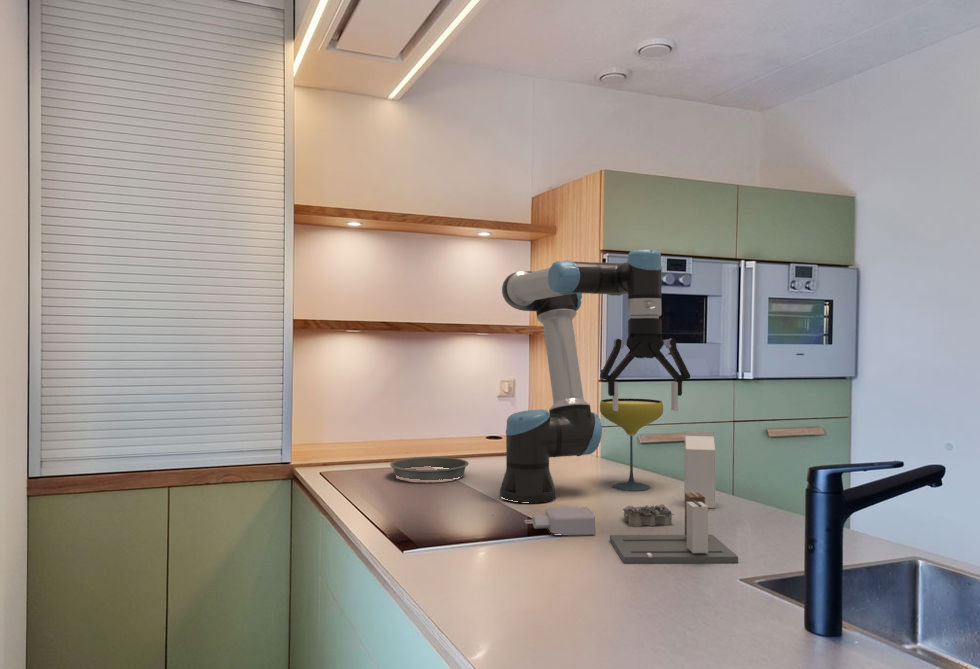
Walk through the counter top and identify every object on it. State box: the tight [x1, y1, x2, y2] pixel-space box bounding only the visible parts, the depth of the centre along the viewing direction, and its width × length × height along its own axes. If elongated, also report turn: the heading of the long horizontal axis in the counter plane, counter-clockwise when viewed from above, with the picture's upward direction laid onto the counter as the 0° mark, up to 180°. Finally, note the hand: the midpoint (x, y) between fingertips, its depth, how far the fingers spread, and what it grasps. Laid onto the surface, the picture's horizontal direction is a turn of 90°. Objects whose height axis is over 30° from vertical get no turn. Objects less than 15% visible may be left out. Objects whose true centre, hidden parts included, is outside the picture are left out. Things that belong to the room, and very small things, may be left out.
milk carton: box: [683, 430, 716, 509], centre depth 180 cm, size 7×7×19 cm
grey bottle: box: [523, 506, 596, 536], centre depth 156 cm, size 5×9×15 cm
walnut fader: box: [684, 492, 705, 537], centre depth 145 cm, size 3×4×9 cm
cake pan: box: [389, 456, 469, 480], centre depth 219 cm, size 25×25×4 cm
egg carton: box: [622, 503, 675, 527], centre depth 164 cm, size 11×8×4 cm
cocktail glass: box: [599, 398, 664, 492], centre depth 202 cm, size 18×18×25 cm
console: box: [609, 534, 739, 564], centre depth 141 cm, size 22×15×2 cm
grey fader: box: [686, 500, 709, 553], centre depth 137 cm, size 3×4×9 cm
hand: (644, 410), depth 159 cm, fingers open, 13 cm apart
